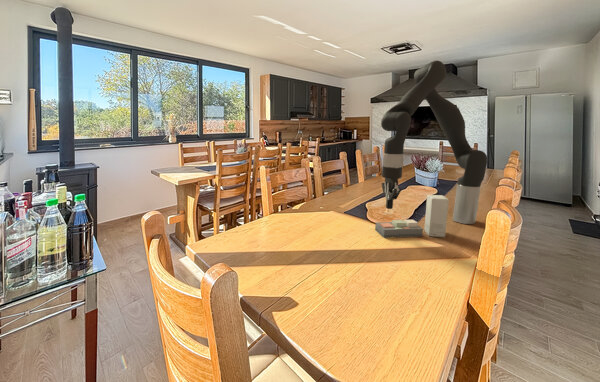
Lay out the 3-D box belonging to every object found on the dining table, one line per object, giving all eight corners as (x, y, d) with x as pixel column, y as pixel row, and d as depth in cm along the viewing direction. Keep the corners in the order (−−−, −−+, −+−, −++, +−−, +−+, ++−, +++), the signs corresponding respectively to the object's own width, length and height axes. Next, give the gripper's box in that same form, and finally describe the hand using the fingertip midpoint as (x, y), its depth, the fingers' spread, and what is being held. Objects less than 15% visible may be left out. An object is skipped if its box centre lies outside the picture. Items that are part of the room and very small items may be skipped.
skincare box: (445, 237, 113) (450, 199, 110) (427, 236, 114) (431, 198, 111) (439, 230, 121) (443, 194, 118) (422, 229, 122) (426, 193, 119)
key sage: (400, 224, 119) (401, 219, 119) (405, 227, 115) (406, 222, 115) (391, 224, 119) (392, 220, 118) (396, 227, 115) (396, 223, 114)
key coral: (389, 227, 119) (389, 223, 118) (393, 231, 115) (393, 226, 114) (380, 227, 118) (380, 223, 118) (384, 231, 114) (384, 226, 114)
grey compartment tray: (410, 228, 123) (411, 221, 122) (422, 236, 114) (423, 228, 113) (375, 229, 121) (375, 222, 120) (383, 237, 112) (384, 229, 111)
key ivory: (412, 224, 120) (412, 219, 119) (417, 227, 116) (417, 222, 115) (403, 224, 119) (403, 219, 119) (407, 227, 115) (408, 222, 115)
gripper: (376, 163, 117) (373, 204, 120) (390, 167, 104) (387, 213, 108) (394, 163, 118) (390, 204, 121) (410, 167, 105) (406, 213, 109)
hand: (389, 208), depth 115 cm, fingers closed
